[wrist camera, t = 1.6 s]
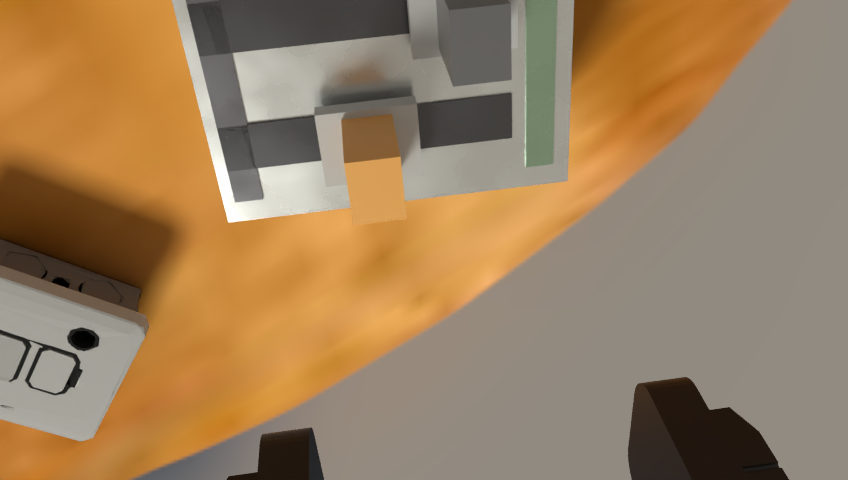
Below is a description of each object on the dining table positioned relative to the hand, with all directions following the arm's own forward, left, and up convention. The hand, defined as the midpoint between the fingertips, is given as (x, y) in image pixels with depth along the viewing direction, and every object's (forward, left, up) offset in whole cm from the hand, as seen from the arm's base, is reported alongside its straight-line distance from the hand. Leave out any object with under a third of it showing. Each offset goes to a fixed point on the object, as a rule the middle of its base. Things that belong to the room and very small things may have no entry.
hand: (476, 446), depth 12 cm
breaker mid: (0, +3, -21) cm, 21 cm away
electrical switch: (+13, -17, -28) cm, 35 cm away
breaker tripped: (+5, -1, -21) cm, 21 cm away
